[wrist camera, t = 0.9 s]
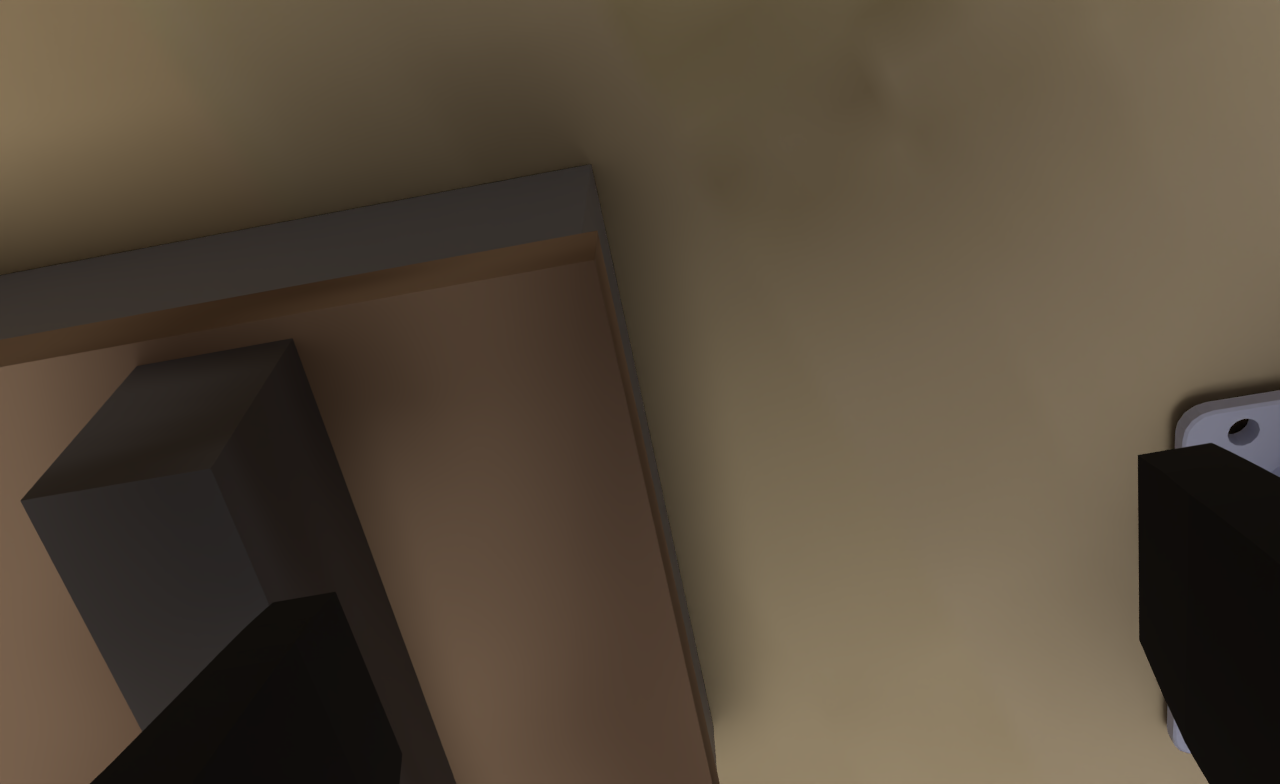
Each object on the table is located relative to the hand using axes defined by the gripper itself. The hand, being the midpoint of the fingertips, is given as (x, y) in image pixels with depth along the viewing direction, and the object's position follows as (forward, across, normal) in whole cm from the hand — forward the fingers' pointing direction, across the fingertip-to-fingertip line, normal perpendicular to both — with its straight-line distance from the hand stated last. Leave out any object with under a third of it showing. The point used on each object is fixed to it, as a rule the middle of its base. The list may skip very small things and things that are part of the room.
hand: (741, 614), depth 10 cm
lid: (+5, +7, +4) cm, 10 cm away
